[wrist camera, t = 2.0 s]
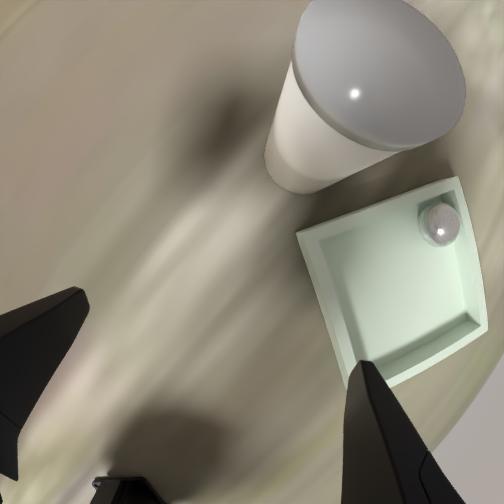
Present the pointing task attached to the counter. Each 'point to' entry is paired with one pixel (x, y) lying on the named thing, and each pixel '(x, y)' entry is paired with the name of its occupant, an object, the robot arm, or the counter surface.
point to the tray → (396, 284)
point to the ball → (439, 224)
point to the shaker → (360, 91)
